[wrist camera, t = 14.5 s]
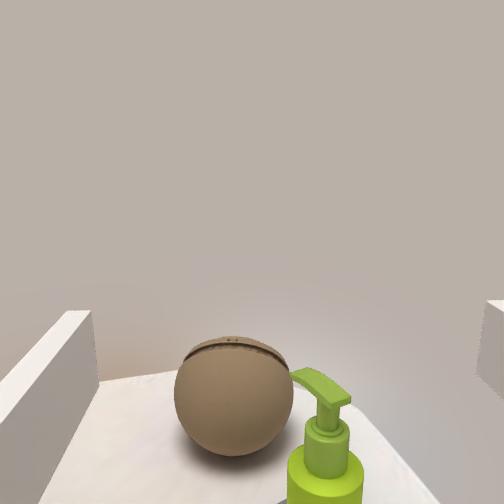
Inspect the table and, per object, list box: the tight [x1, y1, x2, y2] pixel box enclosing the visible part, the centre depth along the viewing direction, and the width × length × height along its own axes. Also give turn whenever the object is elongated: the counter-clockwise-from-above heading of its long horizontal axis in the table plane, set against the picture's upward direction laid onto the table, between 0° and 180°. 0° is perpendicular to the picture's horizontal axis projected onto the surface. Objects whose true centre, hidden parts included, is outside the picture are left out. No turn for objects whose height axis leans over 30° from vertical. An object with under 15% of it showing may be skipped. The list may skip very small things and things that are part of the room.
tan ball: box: [174, 336, 293, 456], centre depth 55 cm, size 15×15×15 cm
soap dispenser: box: [287, 367, 364, 504], centre depth 35 cm, size 6×7×20 cm
